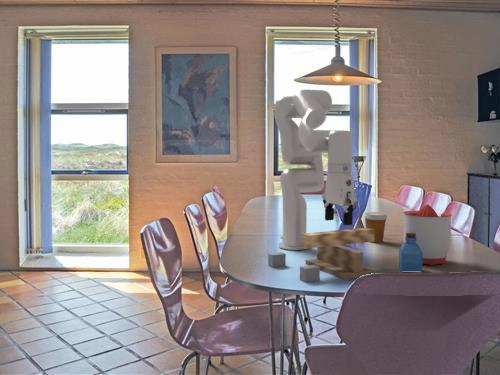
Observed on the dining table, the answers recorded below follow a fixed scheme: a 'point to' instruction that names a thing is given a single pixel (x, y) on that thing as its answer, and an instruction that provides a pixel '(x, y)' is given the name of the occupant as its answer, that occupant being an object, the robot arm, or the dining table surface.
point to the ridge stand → (340, 261)
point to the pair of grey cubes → (306, 272)
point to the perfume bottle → (410, 254)
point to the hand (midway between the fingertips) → (338, 222)
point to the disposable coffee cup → (376, 224)
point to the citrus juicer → (429, 233)
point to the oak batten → (337, 237)
